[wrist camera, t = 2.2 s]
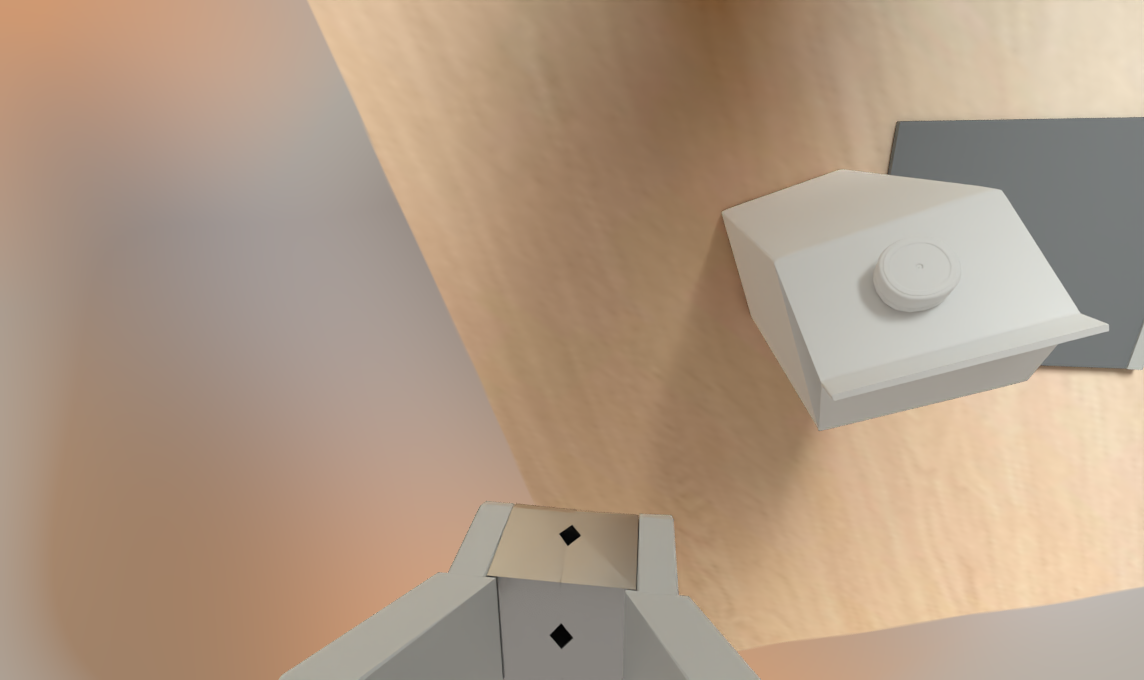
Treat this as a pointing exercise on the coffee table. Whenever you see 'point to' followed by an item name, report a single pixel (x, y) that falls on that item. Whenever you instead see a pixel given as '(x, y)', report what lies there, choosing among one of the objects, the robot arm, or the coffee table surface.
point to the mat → (1058, 209)
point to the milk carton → (897, 292)
